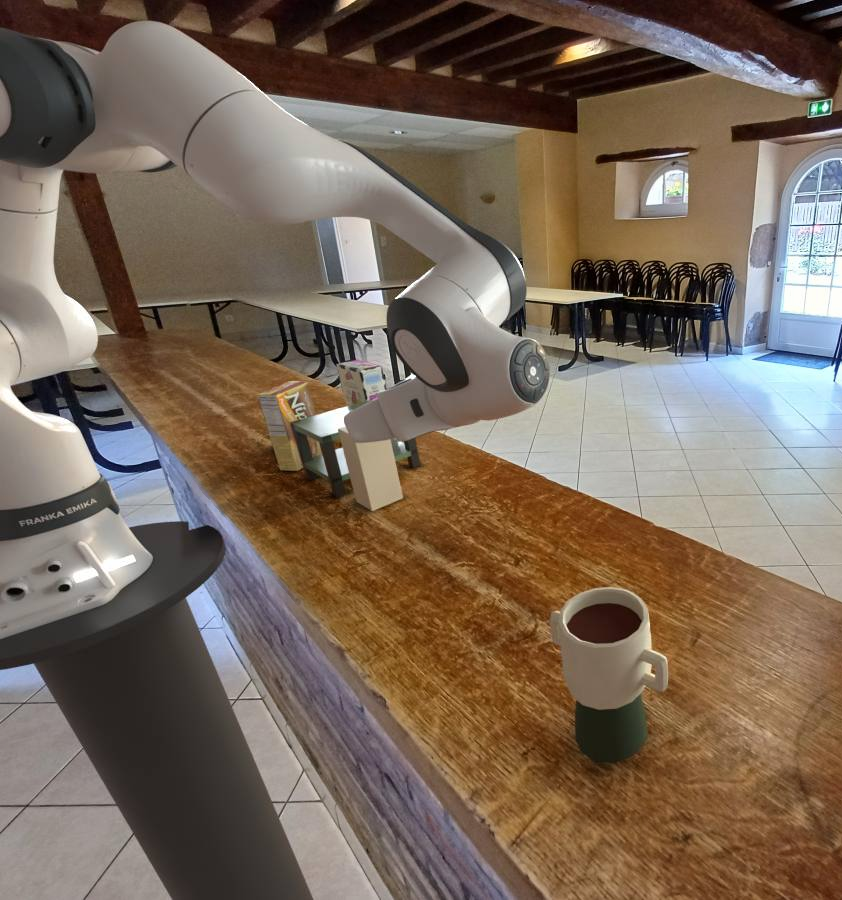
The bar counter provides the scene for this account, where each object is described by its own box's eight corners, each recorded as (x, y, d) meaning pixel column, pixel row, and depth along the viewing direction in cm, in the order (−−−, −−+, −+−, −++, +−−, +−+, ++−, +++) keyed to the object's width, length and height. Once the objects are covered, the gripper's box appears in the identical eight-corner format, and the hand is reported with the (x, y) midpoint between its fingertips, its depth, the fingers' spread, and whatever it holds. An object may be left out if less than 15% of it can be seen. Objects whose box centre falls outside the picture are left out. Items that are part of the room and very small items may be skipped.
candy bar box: (399, 440, 117) (383, 364, 111) (377, 448, 114) (359, 370, 108) (373, 430, 124) (357, 358, 118) (352, 436, 121) (334, 363, 115)
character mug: (687, 733, 47) (688, 611, 42) (646, 802, 42) (642, 672, 37) (583, 683, 53) (574, 570, 48) (536, 738, 48) (519, 617, 43)
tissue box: (372, 511, 88) (353, 434, 83) (356, 501, 92) (337, 427, 86) (403, 498, 92) (387, 424, 87) (386, 489, 95) (370, 417, 90)
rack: (337, 497, 93) (321, 437, 89) (306, 478, 102) (289, 422, 97) (420, 465, 104) (409, 410, 100) (386, 450, 112) (375, 398, 108)
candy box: (308, 453, 113) (288, 380, 107) (327, 453, 113) (307, 380, 107) (279, 471, 105) (255, 394, 99) (299, 471, 105) (276, 394, 99)
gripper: (495, 348, 77) (439, 367, 86) (370, 396, 62) (316, 412, 71) (512, 391, 79) (454, 405, 88) (393, 447, 64) (338, 457, 73)
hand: (391, 409), depth 79 cm, fingers open, 8 cm apart
